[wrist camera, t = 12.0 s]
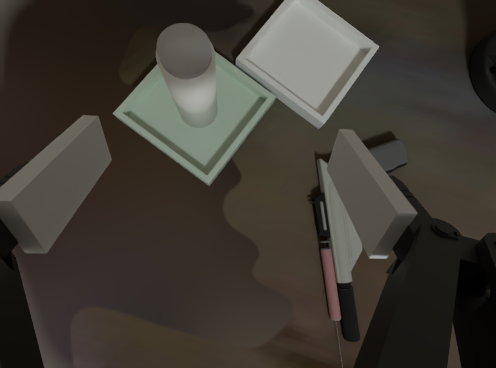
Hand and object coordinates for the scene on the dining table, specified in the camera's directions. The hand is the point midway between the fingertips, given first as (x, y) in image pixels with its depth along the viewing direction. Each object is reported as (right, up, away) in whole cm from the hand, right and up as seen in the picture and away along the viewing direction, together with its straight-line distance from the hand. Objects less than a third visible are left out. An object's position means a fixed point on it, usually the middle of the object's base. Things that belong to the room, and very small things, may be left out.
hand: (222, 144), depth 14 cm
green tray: (-5, +8, +21) cm, 23 cm away
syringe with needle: (+18, -12, +22) cm, 31 cm away
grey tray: (+10, +16, +23) cm, 30 cm away
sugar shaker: (-5, +8, +20) cm, 22 cm away
